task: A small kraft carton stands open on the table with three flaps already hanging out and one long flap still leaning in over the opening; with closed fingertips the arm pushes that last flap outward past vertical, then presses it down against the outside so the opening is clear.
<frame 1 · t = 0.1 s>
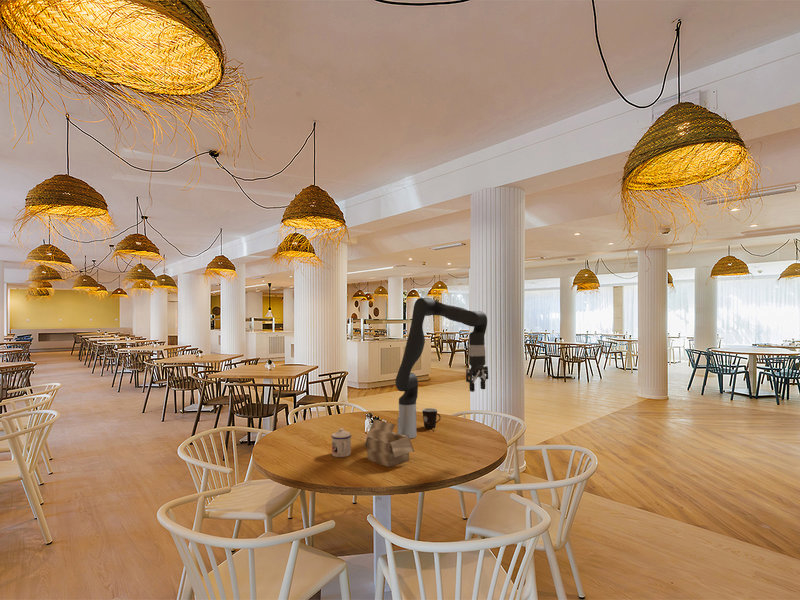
hand: (477, 390, 191), 29 cm above the table, tool pointing down, fingers open, 8 cm apart
coffee mug: (430, 428, 238), on the table
teacup with lid: (342, 455, 191), on the table
carton: (388, 460, 184), on the table
front flap: (380, 430, 182), point 14 cm above the table, hinge at -35.0°
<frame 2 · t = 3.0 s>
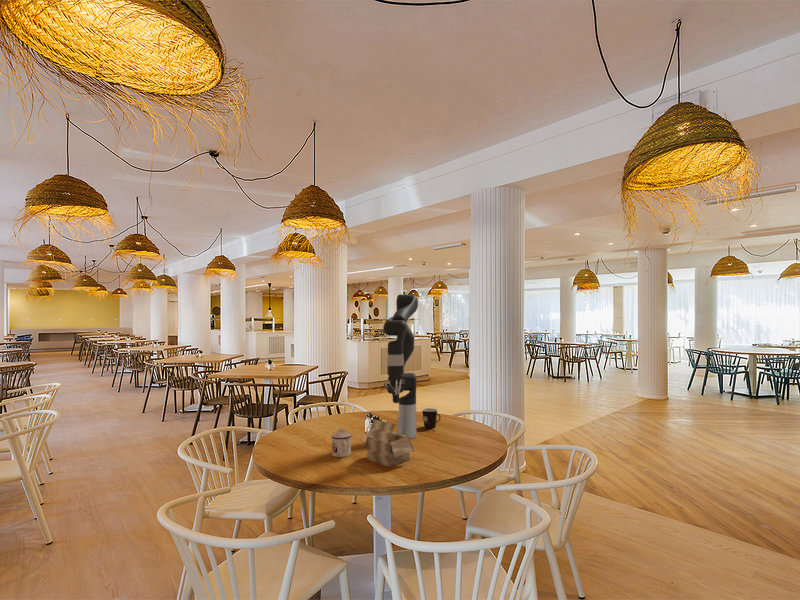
hand: (395, 402, 189), 24 cm above the table, tool pointing down, fingers closed
nothing on the table moved.
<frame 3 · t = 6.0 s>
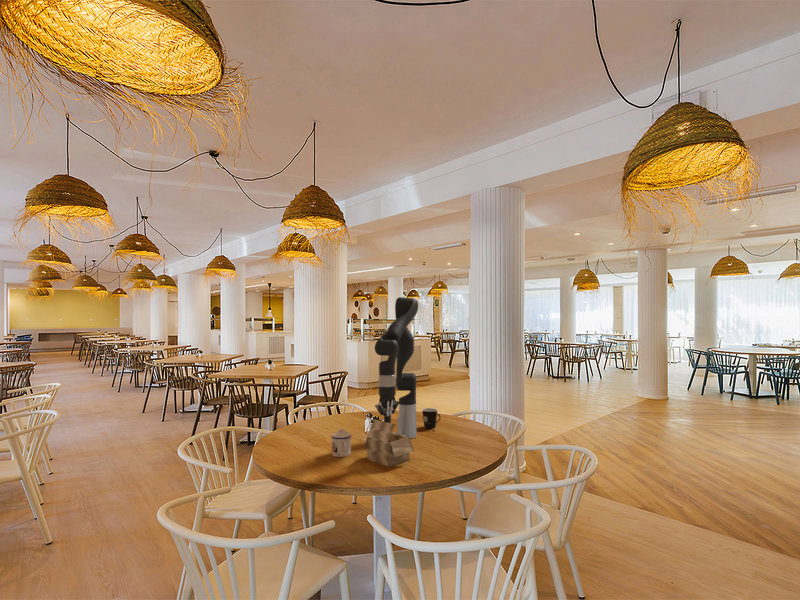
hand: (387, 424, 185), 16 cm above the table, tool pointing down, fingers closed
front flap: (380, 430, 182), point 14 cm above the table, hinge at -34.8°, touching gripper
everything else where it was.
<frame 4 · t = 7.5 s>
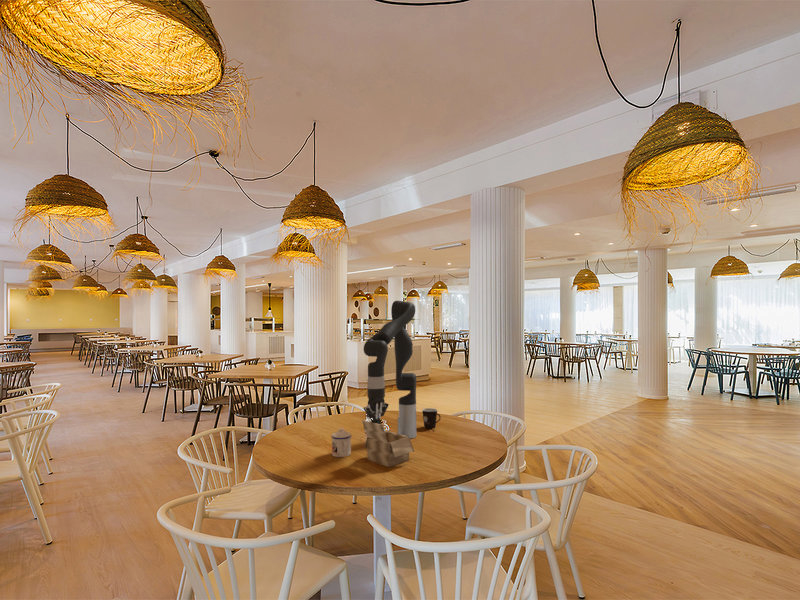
hand: (376, 427, 180), 16 cm above the table, tool pointing down, fingers closed
front flap: (374, 431, 179), point 14 cm above the table, hinge at 19.0°, touching gripper
everything else where it was.
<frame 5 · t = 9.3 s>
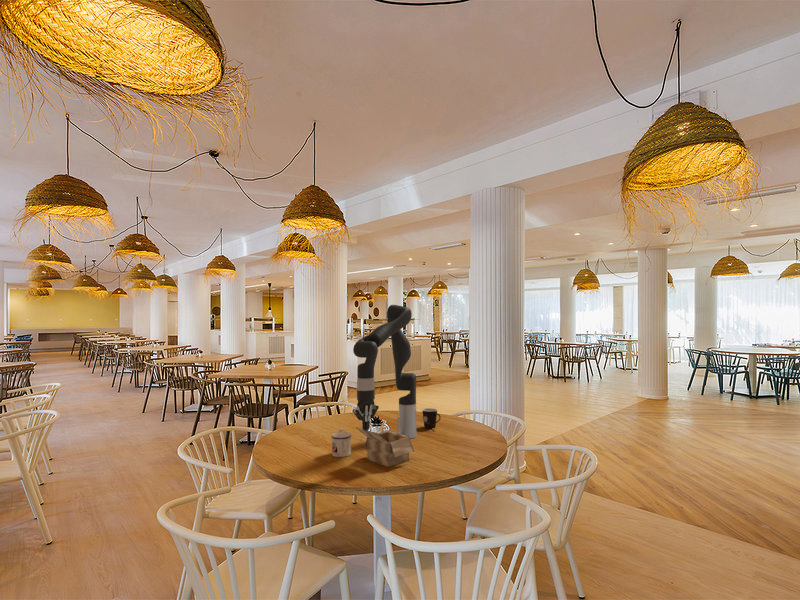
hand: (365, 429, 176), 16 cm above the table, tool pointing down, fingers closed
front flap: (371, 434, 178), point 13 cm above the table, hinge at 51.2°, touching gripper
everything else where it was.
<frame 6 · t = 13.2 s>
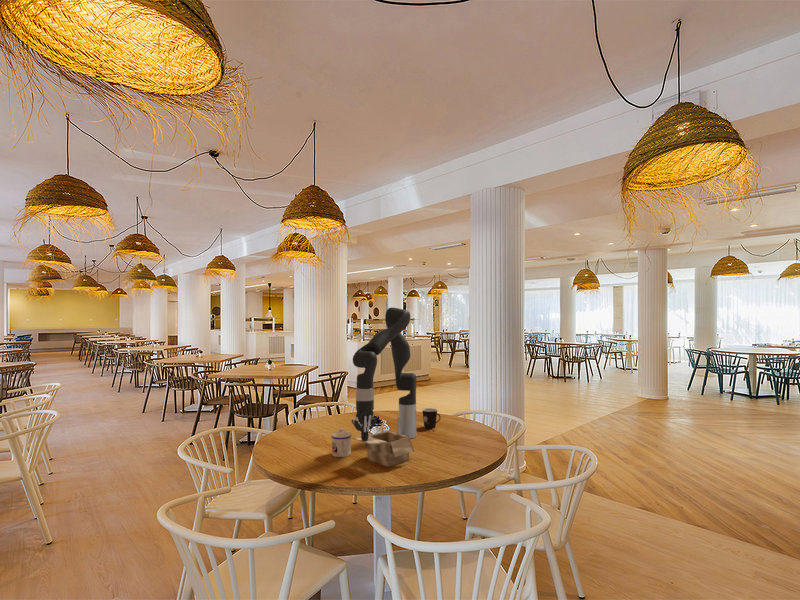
hand: (364, 440, 175), 11 cm above the table, tool pointing down, fingers closed
front flap: (369, 440, 177), point 11 cm above the table, hinge at 84.4°, touching gripper
everything else where it was.
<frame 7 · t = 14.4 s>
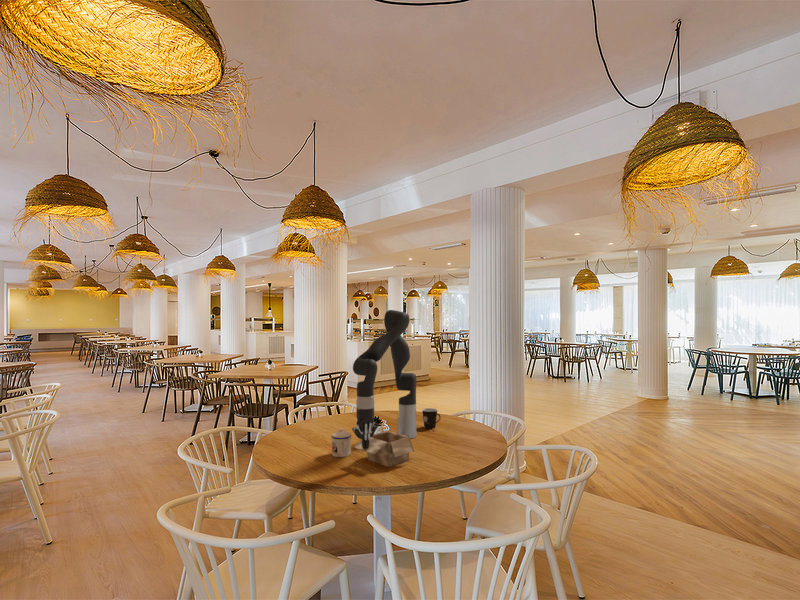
hand: (365, 448, 175), 8 cm above the table, tool pointing down, fingers closed
front flap: (370, 444, 177), point 9 cm above the table, hinge at 113.5°, touching gripper
everything else where it was.
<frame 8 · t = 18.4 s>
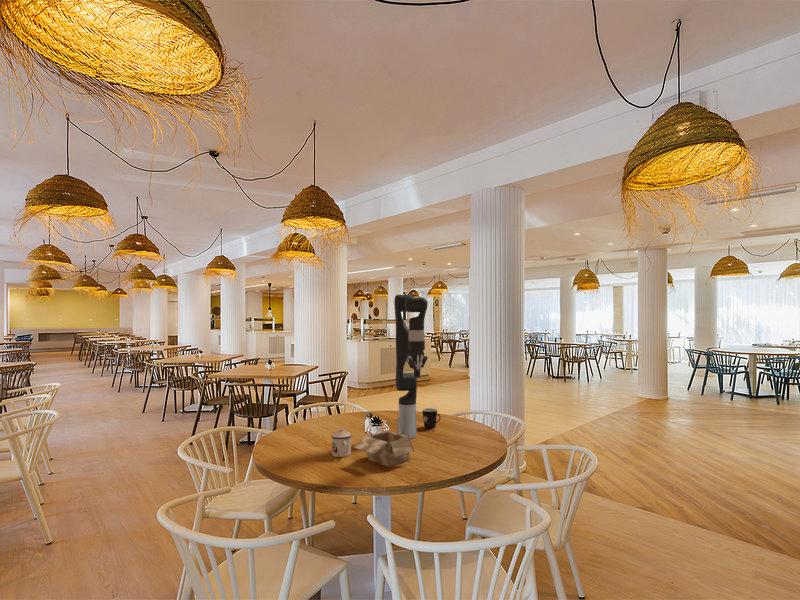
hand: (417, 377, 194), 35 cm above the table, tool pointing down, fingers closed
front flap: (370, 444, 177), point 9 cm above the table, hinge at 113.5°
everything else where it was.
at the end: front flap at +114° (first picture: -35°); the gripper is holding nothing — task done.
